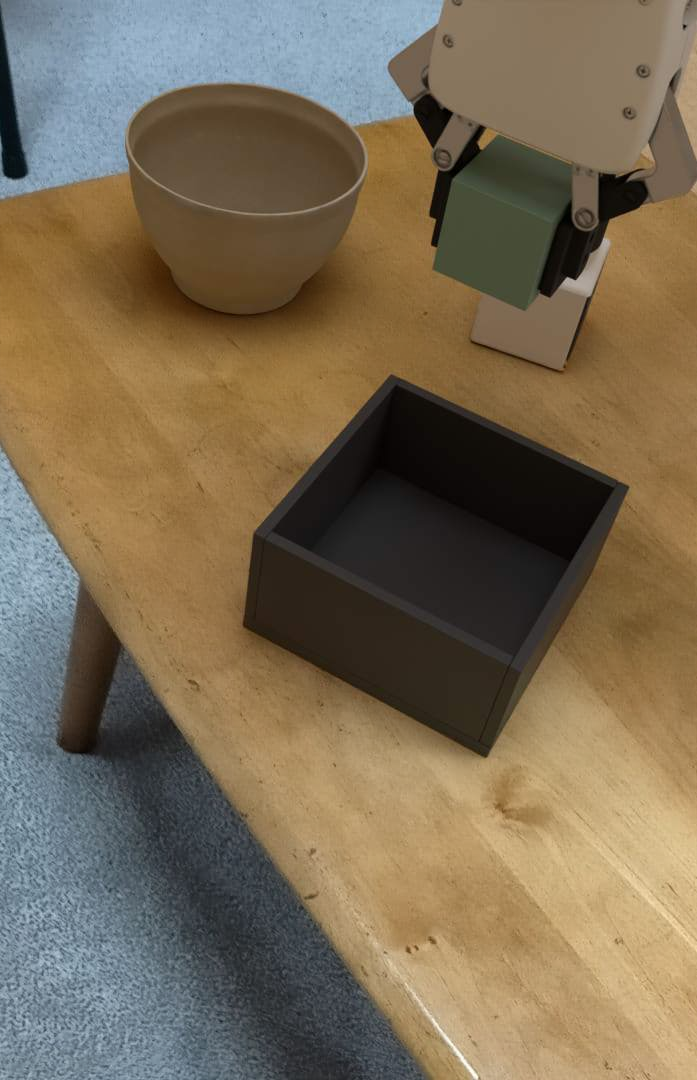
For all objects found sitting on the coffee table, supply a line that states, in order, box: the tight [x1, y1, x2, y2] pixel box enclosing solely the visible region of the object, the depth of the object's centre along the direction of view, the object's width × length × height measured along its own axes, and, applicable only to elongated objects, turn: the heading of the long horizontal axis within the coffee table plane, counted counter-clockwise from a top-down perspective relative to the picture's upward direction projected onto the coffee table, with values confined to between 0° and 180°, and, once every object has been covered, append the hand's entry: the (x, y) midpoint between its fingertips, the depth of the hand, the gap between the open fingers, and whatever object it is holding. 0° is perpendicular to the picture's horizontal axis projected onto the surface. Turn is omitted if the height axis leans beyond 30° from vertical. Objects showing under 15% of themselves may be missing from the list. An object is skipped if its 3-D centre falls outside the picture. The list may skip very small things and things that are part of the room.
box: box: [432, 133, 572, 311], centre depth 58 cm, size 5×5×5 cm
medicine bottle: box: [470, 220, 612, 372], centre depth 86 cm, size 7×7×12 cm
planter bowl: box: [124, 81, 369, 315], centre depth 86 cm, size 16×16×11 cm
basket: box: [242, 373, 630, 758], centre depth 70 cm, size 15×15×8 cm
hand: (502, 255), depth 60 cm, fingers closed on box, 5 cm apart
